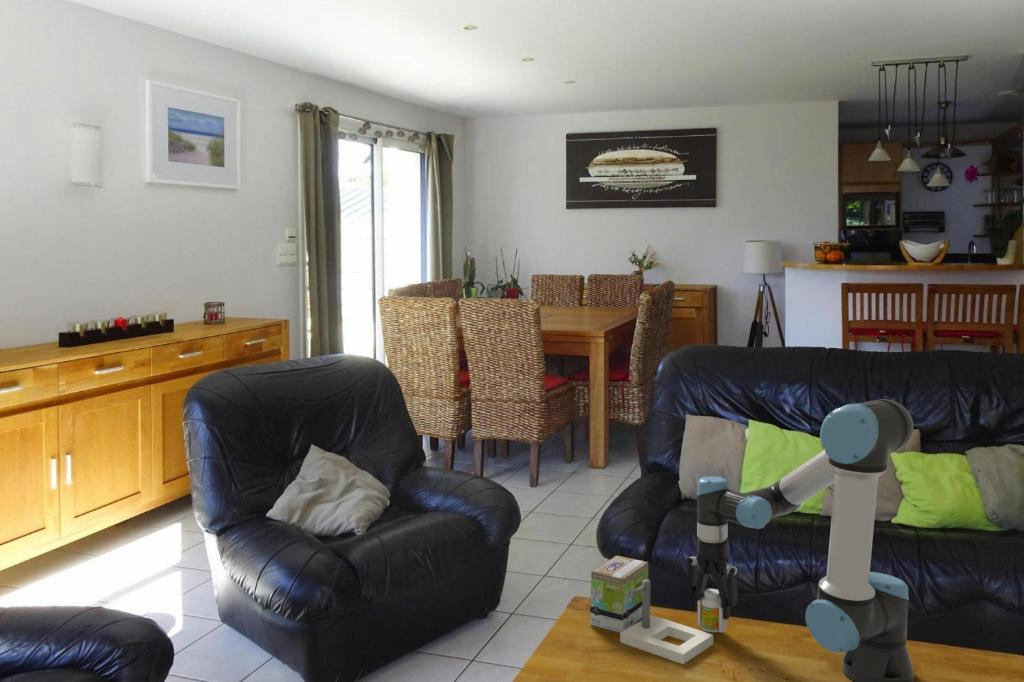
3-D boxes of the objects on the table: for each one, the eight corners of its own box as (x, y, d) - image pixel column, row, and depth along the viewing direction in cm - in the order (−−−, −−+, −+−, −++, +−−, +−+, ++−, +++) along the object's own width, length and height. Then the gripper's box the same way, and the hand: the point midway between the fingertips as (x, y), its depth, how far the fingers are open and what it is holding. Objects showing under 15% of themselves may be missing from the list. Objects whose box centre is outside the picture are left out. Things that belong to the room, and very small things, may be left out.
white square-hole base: (712, 644, 218) (713, 587, 217) (683, 664, 208) (683, 605, 206) (651, 624, 230) (651, 570, 229) (620, 642, 220) (620, 586, 218)
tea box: (624, 634, 224) (624, 578, 223) (589, 625, 230) (589, 570, 228) (648, 613, 237) (649, 560, 235) (614, 605, 242) (615, 553, 241)
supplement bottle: (699, 631, 223) (699, 593, 222) (703, 623, 228) (703, 586, 227) (721, 634, 221) (721, 596, 220) (724, 625, 226) (724, 589, 225)
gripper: (753, 541, 219) (752, 632, 221) (688, 528, 232) (688, 613, 234) (738, 549, 214) (738, 642, 216) (672, 534, 226) (673, 622, 228)
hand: (712, 627), depth 225 cm, fingers closed on supplement bottle, 5 cm apart
